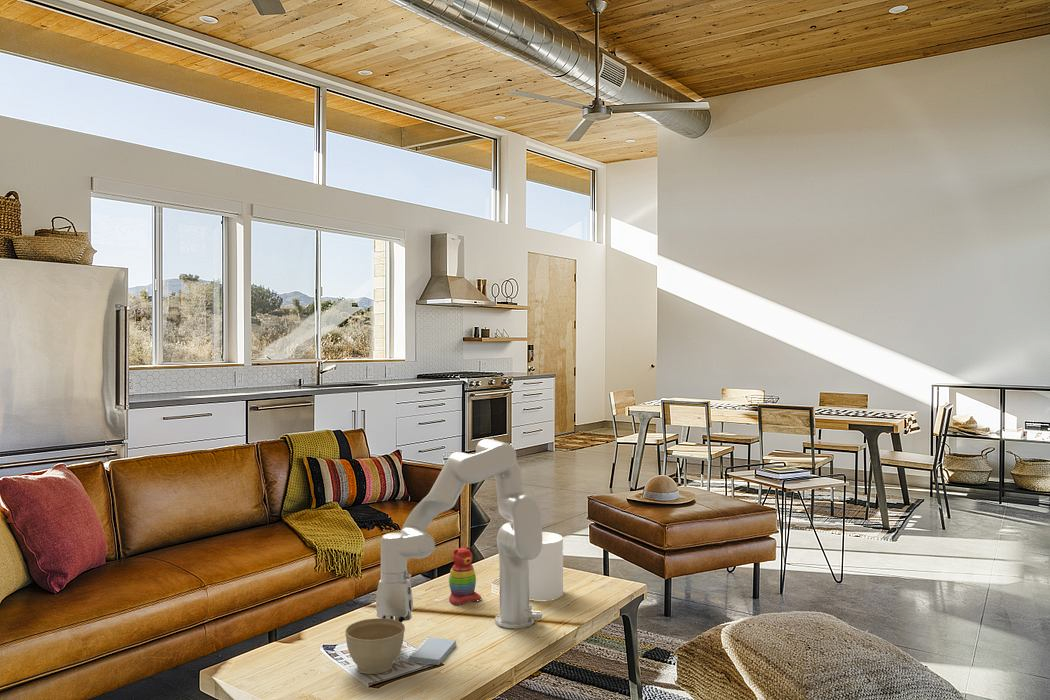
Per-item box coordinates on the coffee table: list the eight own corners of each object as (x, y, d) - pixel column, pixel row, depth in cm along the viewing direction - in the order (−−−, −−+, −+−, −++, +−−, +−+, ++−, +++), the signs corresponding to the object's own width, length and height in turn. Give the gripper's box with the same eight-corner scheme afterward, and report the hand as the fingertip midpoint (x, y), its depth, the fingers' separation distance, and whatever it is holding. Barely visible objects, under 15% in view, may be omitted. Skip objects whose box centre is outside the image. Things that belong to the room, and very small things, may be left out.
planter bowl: (393, 682, 199) (393, 641, 199) (335, 678, 202) (335, 637, 202) (412, 657, 215) (412, 619, 215) (359, 653, 218) (359, 616, 218)
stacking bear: (454, 606, 256) (454, 554, 256) (442, 597, 265) (442, 547, 265) (483, 600, 261) (483, 549, 261) (470, 592, 270) (470, 542, 270)
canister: (572, 592, 269) (572, 536, 269) (543, 604, 257) (543, 546, 257) (537, 583, 280) (537, 529, 279) (508, 594, 268) (508, 538, 267)
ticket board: (456, 645, 224) (455, 639, 224) (439, 664, 210) (438, 659, 210) (427, 642, 226) (427, 637, 226) (408, 661, 212) (408, 656, 212)
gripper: (422, 574, 223) (422, 635, 224) (376, 570, 227) (376, 631, 227) (412, 582, 216) (412, 645, 216) (364, 578, 220) (365, 640, 220)
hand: (394, 638), depth 222 cm, fingers closed
